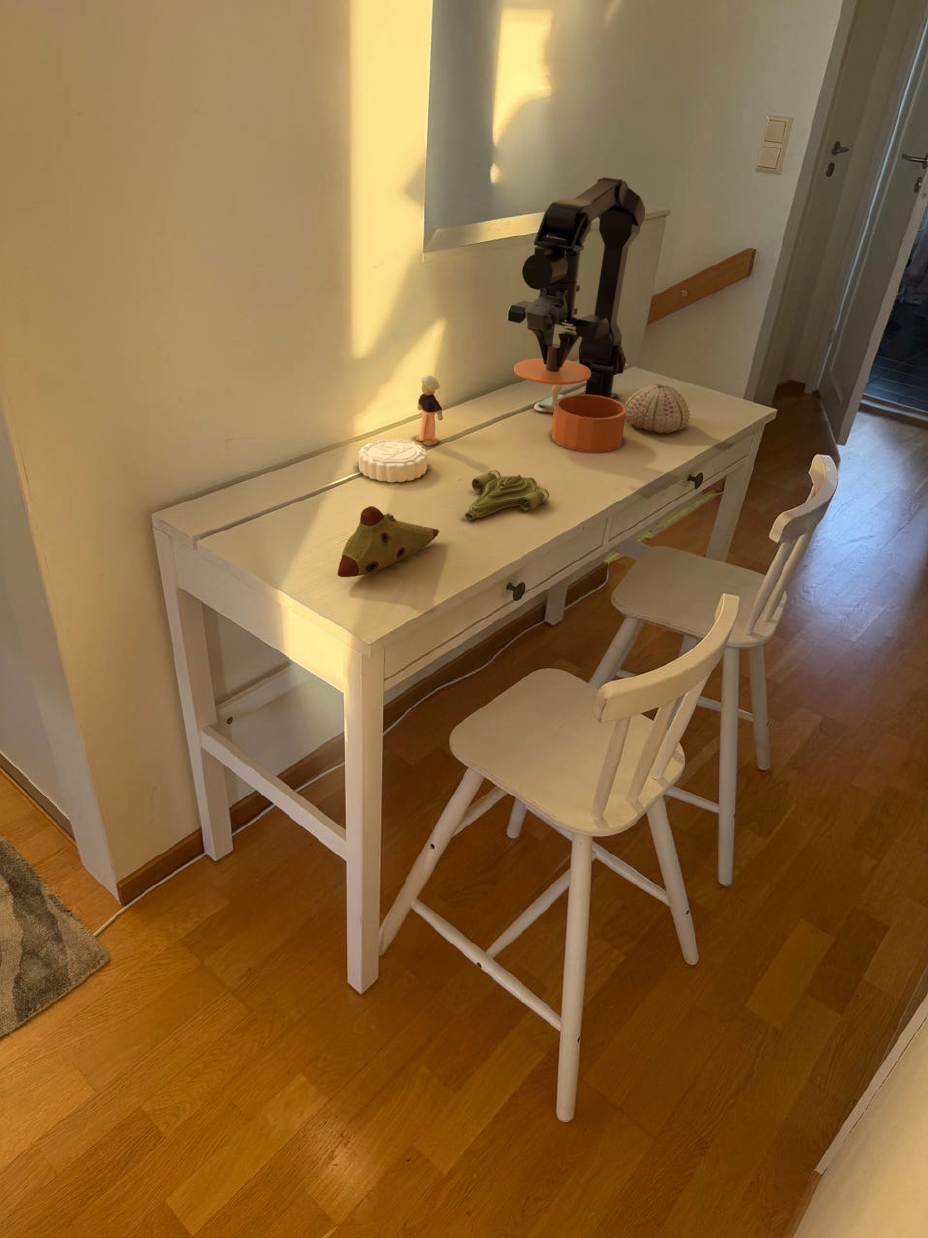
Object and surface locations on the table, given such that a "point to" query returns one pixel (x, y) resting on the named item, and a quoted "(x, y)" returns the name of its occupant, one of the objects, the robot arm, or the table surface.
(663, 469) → the table surface
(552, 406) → the pacifier
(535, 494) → the spaceship toy
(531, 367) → the lid
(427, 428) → the grandmother figurine
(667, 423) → the sea urchin shell
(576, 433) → the pot
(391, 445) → the mooncake
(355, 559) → the ocarina
